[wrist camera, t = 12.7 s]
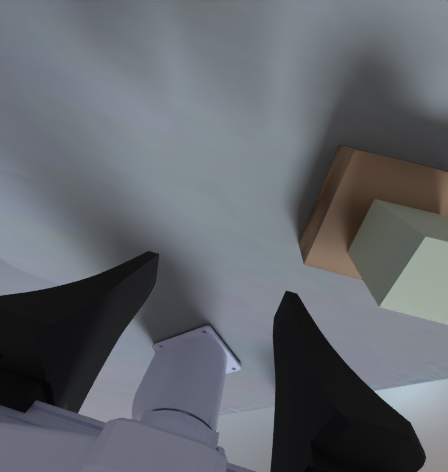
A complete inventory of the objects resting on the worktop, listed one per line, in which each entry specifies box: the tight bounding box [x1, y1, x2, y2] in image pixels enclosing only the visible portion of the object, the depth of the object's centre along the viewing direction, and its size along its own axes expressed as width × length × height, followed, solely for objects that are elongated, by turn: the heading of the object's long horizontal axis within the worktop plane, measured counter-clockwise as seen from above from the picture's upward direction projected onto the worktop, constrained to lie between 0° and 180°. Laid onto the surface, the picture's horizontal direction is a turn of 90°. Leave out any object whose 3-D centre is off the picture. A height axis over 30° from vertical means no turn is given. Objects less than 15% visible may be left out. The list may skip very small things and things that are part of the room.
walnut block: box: [299, 145, 448, 280], centre depth 19 cm, size 9×9×4 cm
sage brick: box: [347, 199, 448, 325], centre depth 14 cm, size 4×4×6 cm
